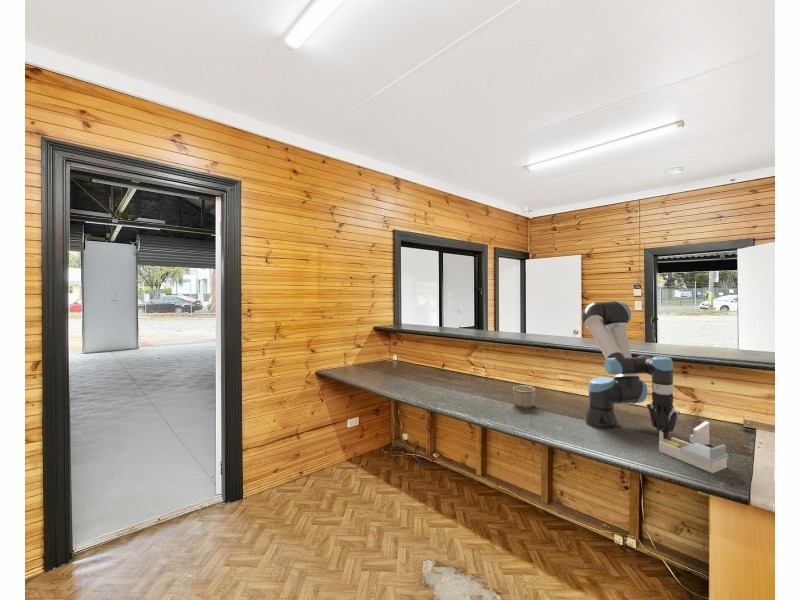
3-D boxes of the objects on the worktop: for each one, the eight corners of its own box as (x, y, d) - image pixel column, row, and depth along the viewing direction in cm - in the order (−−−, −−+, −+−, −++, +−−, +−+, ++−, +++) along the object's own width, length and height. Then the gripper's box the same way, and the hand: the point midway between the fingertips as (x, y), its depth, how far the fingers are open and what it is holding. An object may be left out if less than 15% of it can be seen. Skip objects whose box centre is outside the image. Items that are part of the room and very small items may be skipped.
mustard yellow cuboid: (662, 449, 161) (662, 441, 161) (667, 447, 162) (667, 440, 162) (674, 454, 156) (674, 446, 156) (679, 452, 158) (679, 444, 157)
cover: (679, 453, 151) (679, 439, 150) (697, 447, 155) (697, 433, 154) (710, 465, 140) (710, 450, 140) (728, 458, 145) (728, 444, 144)
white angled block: (718, 438, 163) (709, 422, 163) (699, 450, 163) (690, 434, 163) (711, 434, 167) (702, 419, 166) (693, 446, 167) (683, 431, 166)
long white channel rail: (659, 451, 160) (659, 441, 159) (672, 446, 163) (672, 437, 163) (712, 473, 141) (712, 462, 141) (726, 467, 144) (726, 456, 144)
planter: (513, 408, 218) (512, 391, 217) (513, 401, 230) (513, 384, 229) (535, 409, 214) (535, 392, 213) (535, 402, 226) (534, 385, 225)
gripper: (642, 389, 166) (642, 440, 167) (672, 397, 153) (673, 452, 155) (653, 387, 168) (653, 437, 170) (684, 395, 156) (684, 449, 157)
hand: (663, 444), depth 162 cm, fingers closed
